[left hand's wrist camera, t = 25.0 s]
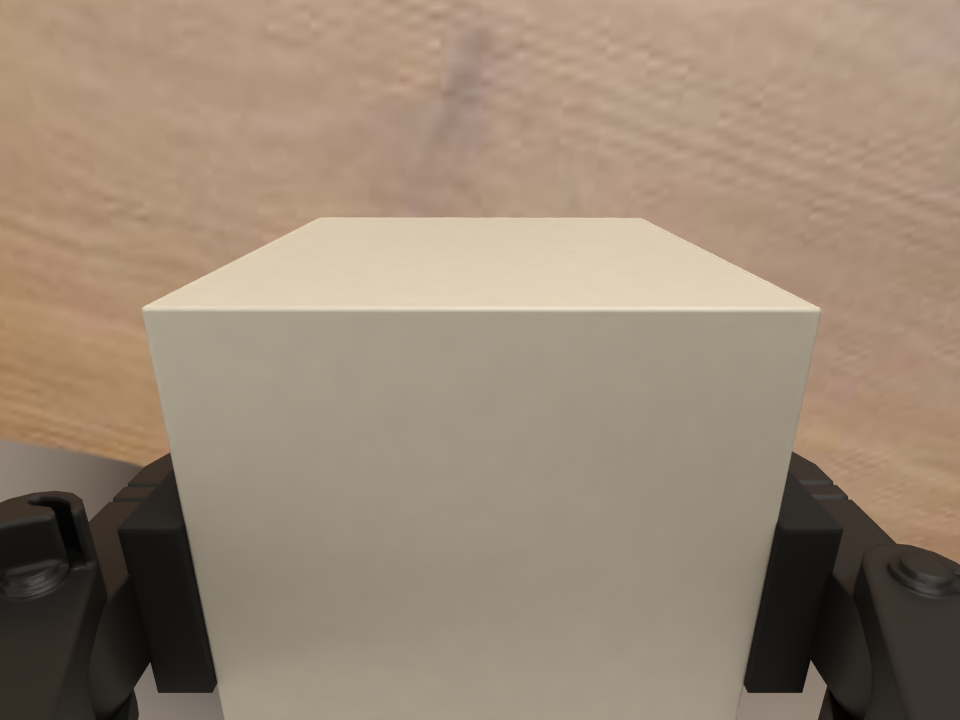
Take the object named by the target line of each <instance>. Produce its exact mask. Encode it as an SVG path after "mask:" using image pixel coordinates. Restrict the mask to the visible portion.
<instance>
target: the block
mask: <svg viewBox="0 0 960 720" xmlns="http://www.w3.org/2000/svg"><path fill="white" fill-rule="evenodd" d="M820 314H821V310H820V308H819V307H817V306H815V305H813V304H811V303H809V302H807V301H805V300H803V299H801V298H799V297H797V296H795V295H793V294H791V293H789V292H787V291H785V290H783V289H781V288H779V287H777V286H775V285H773V284H771V283H769V282H767V281H765V280H763V279H761V278H759V277H757V276H755V275H753V274H751V273H749V272H747V271H745V270H743V269H741V268H739V267H737V266H735V265H733V264H731V263H729V262H727V261H725V260H723V259H721V258H719V257H717V256H715V255H713V254H711V253H709V252H707V251H705V250H703V249H701V248H699V247H697V246H696V245H694V244H692V243H690V242H688V241H686V240H684V239H682V238H680V237H678V236H676V235H674V234H672V233H670V232H668V231H666V230H664V229H662V228H660V227H658V226H656V225H654V224H652V223H650V222H648V221H646V220H644V219H642V218H318V219H316V220H314V221H312V222H310V223H308V224H306V225H304V226H302V227H300V228H298V229H296V230H294V231H292V232H290V233H288V234H286V235H284V236H282V237H280V238H278V239H276V240H275V241H273V242H271V243H269V244H267V245H265V246H263V247H261V248H259V249H257V250H255V251H253V252H251V253H249V254H247V255H245V256H243V257H241V258H239V259H237V260H235V261H233V262H231V263H229V264H227V265H225V266H223V267H221V268H219V269H217V270H215V271H213V272H211V273H209V274H207V275H205V276H203V277H201V278H199V279H198V280H196V281H194V282H192V283H190V284H188V285H186V286H184V287H182V288H180V289H178V290H176V291H174V292H172V293H170V294H168V295H166V296H164V297H162V298H160V299H158V300H156V301H154V302H152V303H150V304H148V305H146V306H144V307H143V308H142V315H143V320H144V325H145V330H146V335H147V339H148V344H149V349H150V354H151V359H152V364H153V369H154V374H155V379H156V384H157V389H158V394H159V399H160V404H161V408H162V413H163V418H164V423H165V428H166V433H167V438H168V443H169V448H170V453H171V458H172V463H173V468H174V473H175V477H176V482H177V487H178V492H179V497H180V502H181V507H182V512H183V517H184V522H185V527H186V532H187V537H188V541H189V546H190V551H191V556H192V561H193V566H194V571H195V576H196V581H197V586H198V591H199V596H200V601H201V606H202V610H203V615H204V620H205V625H206V630H207V635H208V640H209V645H210V650H211V655H212V660H213V665H214V670H215V675H216V679H217V684H218V689H219V694H220V699H221V704H222V709H223V714H224V719H225V720H736V718H737V713H738V709H739V704H740V699H741V694H742V689H743V685H744V679H745V674H746V669H747V664H748V659H749V655H750V650H751V645H752V640H753V635H754V630H755V626H756V621H757V616H758V611H759V606H760V601H761V596H762V592H763V587H764V582H765V577H766V572H767V567H768V563H769V558H770V553H771V548H772V543H773V538H774V533H775V529H776V524H777V521H778V516H779V511H780V507H781V502H782V497H783V492H784V487H785V483H786V478H787V473H788V468H789V463H790V459H791V454H792V449H793V444H794V439H795V435H796V430H797V425H798V420H799V415H800V410H801V406H802V401H803V396H804V391H805V386H806V382H807V377H808V372H809V367H810V362H811V358H812V353H813V348H814V343H815V338H816V334H817V329H818V324H819V319H820Z"/></svg>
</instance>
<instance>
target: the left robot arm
mask: <svg viewBox="0 0 960 720" xmlns="http://www.w3.org/2000/svg"><path fill="white" fill-rule="evenodd" d="M810 660H811V661H812V662H813V664H814V665H815V667H816V669H817V670H818V672H819V673H820V675H821V677H822V678H823V680H824V681H825V683H826V685H827V689H826V692H825V696H824V699H823V703H822V707H821V710H820V714H819V718H818V720H960V565H959V564H958V563H956V562H954V561H952V560H950V559H948V558H946V557H943V556H941V555H939V554H937V553H935V552H932V551H928V550H925V549H922V548H918V547H915V546H911V545H904V544H896V543H895V542H894V541H893V540H892V539H891V538H890V537H889V536H888V535H887V534H886V533H885V532H884V531H883V530H882V529H881V528H880V527H879V526H878V525H877V524H876V523H875V522H874V521H873V520H872V519H871V518H870V517H869V516H868V515H867V514H866V513H865V512H864V511H863V510H862V509H861V508H860V507H859V506H858V505H856V504H855V503H854V502H853V501H852V500H848V496H847V495H846V494H845V493H844V492H843V491H842V490H841V489H840V488H839V487H838V486H837V485H833V481H832V480H831V479H830V478H829V477H828V476H827V475H826V474H825V473H824V472H823V471H822V470H821V469H820V468H819V467H818V466H817V465H816V464H814V463H812V462H810V461H808V460H807V459H805V458H803V457H801V456H799V455H798V454H796V453H794V452H792V454H791V459H790V463H789V468H788V473H787V478H786V483H785V487H784V492H783V497H782V502H781V507H780V511H779V516H778V521H777V524H776V529H775V533H774V538H773V543H772V548H771V553H770V558H769V563H768V567H767V572H766V577H765V582H764V587H763V592H762V596H761V601H760V606H759V611H758V616H757V621H756V626H755V630H754V635H753V640H752V645H751V650H750V655H749V659H748V664H747V669H746V674H745V679H744V686H745V687H746V690H747V692H748V693H802V692H803V688H804V684H805V680H806V676H807V672H808V668H809V664H810ZM150 662H151V666H152V670H153V674H154V678H155V682H156V686H157V690H158V693H212V692H213V690H214V688H215V686H216V684H217V679H216V675H215V670H214V665H213V660H212V655H211V650H210V645H209V640H208V635H207V630H206V625H205V620H204V615H203V610H202V606H201V601H200V596H199V591H198V586H197V581H196V576H195V571H194V566H193V561H192V556H191V551H190V546H189V541H188V537H187V532H186V527H185V522H184V517H183V512H182V507H181V502H180V497H179V492H178V487H177V482H176V477H175V473H174V468H173V463H172V458H171V453H169V454H167V455H165V456H163V457H161V458H160V459H158V460H156V461H154V462H152V463H151V464H149V465H147V466H145V467H144V468H143V469H142V470H141V471H140V472H139V473H138V474H137V475H136V476H135V477H134V478H133V479H132V480H131V481H130V482H129V483H128V487H124V488H123V489H122V490H121V491H120V492H119V493H118V494H117V495H116V496H115V497H114V498H113V502H109V503H108V504H107V505H106V506H105V507H104V508H103V509H102V510H101V511H100V512H99V513H98V514H97V515H96V516H95V517H94V518H93V519H92V520H91V521H90V522H89V523H88V519H87V515H86V512H85V508H84V504H83V501H82V499H81V498H79V497H78V496H76V495H75V494H73V493H68V492H60V491H49V492H39V493H32V494H28V495H24V496H20V497H16V498H12V499H8V500H6V501H3V502H1V503H0V720H138V716H139V713H138V705H137V700H136V696H135V692H134V687H135V685H136V684H137V682H138V681H139V679H140V677H141V676H142V674H143V673H144V671H145V669H146V668H147V666H148V665H149V663H150Z"/></svg>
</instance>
